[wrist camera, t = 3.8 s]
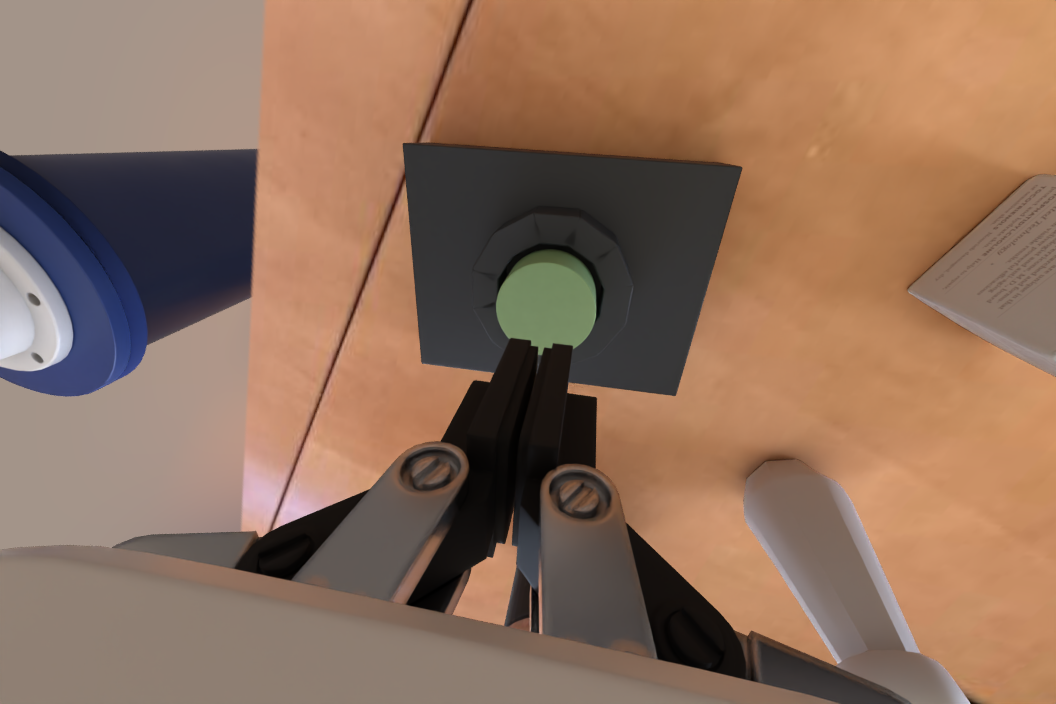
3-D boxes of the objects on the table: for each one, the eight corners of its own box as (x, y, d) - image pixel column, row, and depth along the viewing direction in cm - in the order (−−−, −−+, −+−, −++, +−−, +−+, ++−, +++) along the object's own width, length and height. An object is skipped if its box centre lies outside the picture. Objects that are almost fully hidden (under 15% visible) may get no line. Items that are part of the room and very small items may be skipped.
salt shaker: (714, 489, 27) (799, 739, 16) (773, 434, 24) (928, 689, 13) (785, 522, 28) (917, 788, 16) (851, 472, 25) (1067, 750, 14)
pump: (504, 329, 19) (495, 349, 17) (507, 244, 17) (496, 257, 15) (589, 339, 18) (588, 361, 16) (602, 253, 16) (603, 267, 14)
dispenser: (439, 340, 25) (406, 383, 20) (427, 142, 19) (379, 143, 15) (666, 367, 23) (683, 420, 19) (721, 162, 18) (762, 170, 14)
